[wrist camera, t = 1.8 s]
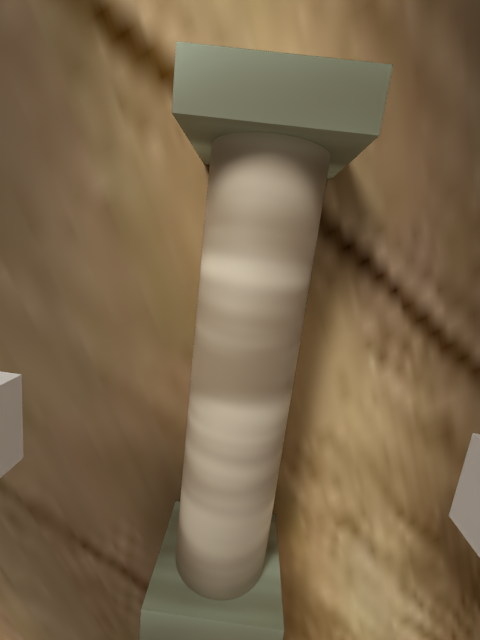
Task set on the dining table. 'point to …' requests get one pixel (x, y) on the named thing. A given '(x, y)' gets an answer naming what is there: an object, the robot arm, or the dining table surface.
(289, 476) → the dining table surface
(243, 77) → the column
